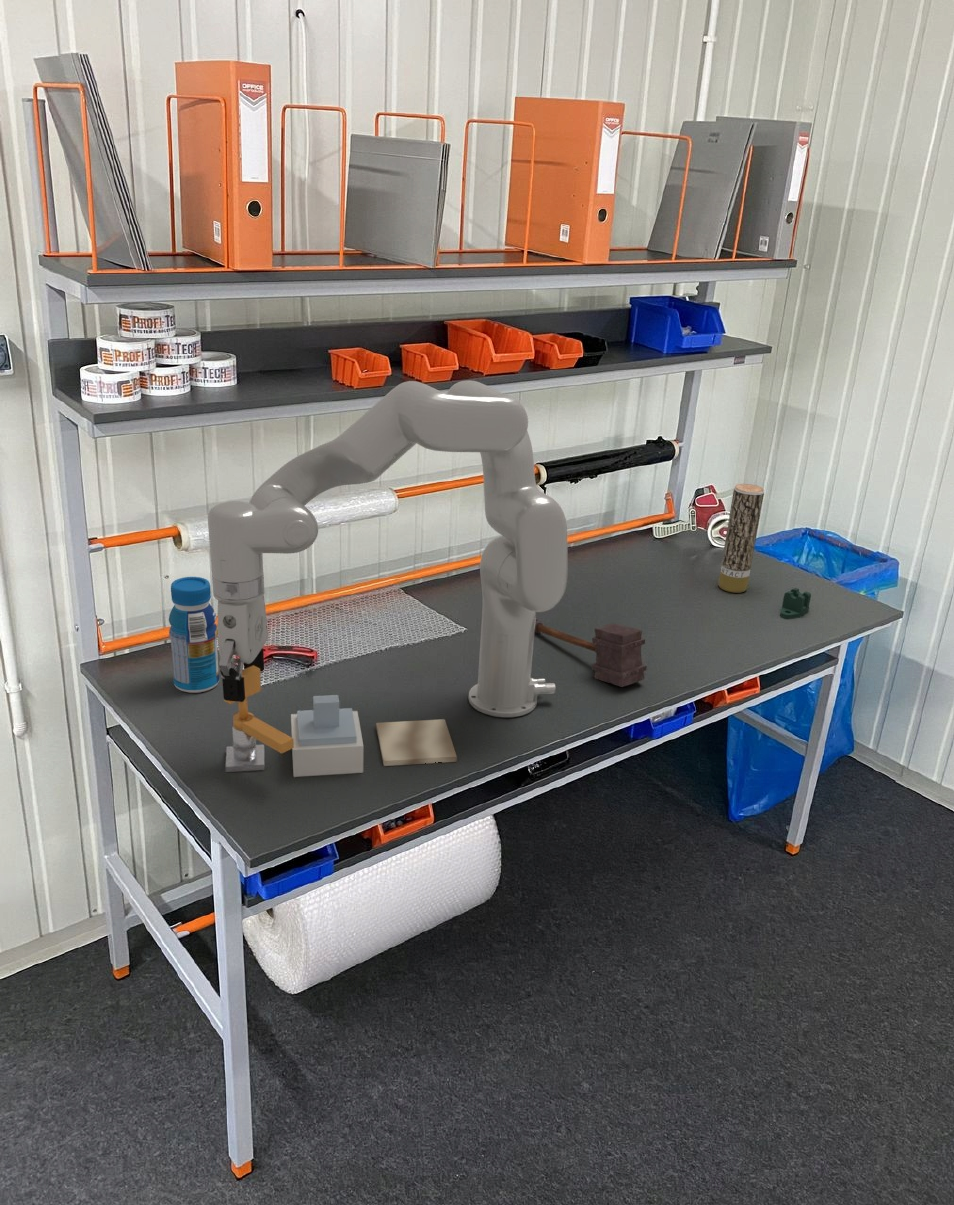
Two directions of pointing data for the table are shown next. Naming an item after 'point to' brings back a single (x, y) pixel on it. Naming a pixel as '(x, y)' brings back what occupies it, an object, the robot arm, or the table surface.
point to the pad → (415, 742)
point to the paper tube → (741, 537)
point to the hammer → (610, 652)
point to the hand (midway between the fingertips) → (244, 684)
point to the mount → (795, 604)
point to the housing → (327, 755)
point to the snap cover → (326, 723)
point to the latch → (252, 724)
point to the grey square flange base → (244, 753)
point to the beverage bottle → (193, 636)
